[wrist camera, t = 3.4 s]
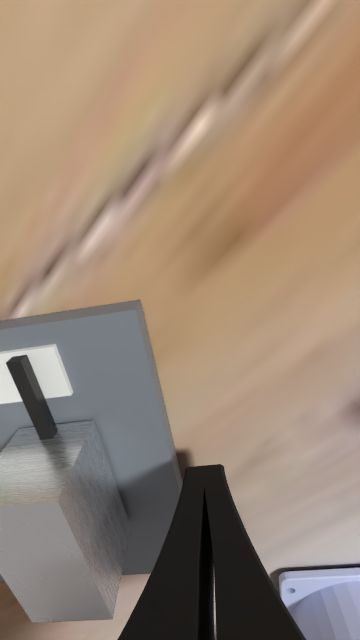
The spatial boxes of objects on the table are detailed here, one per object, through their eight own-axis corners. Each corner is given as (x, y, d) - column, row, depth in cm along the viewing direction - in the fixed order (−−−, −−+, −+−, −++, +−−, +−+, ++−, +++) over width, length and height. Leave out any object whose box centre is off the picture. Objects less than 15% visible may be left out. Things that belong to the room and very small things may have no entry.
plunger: (130, 525, 13) (112, 619, 10) (67, 530, 14) (32, 622, 11) (67, 344, 10) (13, 407, 7) (-16, 356, 10) (-101, 421, 7)
